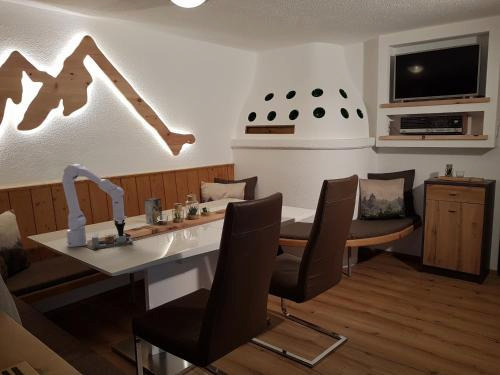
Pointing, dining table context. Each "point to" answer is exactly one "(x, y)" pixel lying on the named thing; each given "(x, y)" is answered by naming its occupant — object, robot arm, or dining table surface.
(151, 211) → the coffee box
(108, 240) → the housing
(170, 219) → the dining table surface
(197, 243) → the dining table surface
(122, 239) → the ram
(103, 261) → the dining table surface
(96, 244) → the press frame
